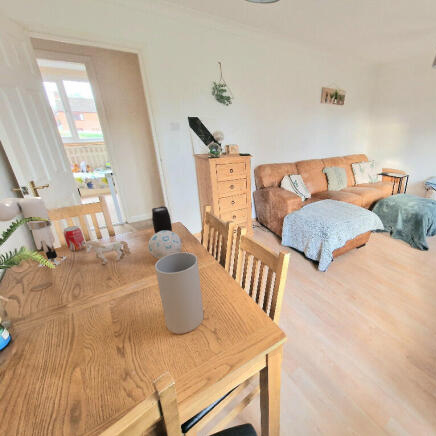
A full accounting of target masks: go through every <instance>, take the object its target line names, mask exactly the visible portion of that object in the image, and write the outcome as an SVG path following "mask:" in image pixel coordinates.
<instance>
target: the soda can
mask: <svg viewBox="0 0 436 436" xmlns="http://www.w3.org/2000/svg"><path fill="white" fill-rule="evenodd" d="M62 233H63V237H64V240H65V243H66V247H67V248H68V250H69V251H71V252H78V251H81V250H84V248H79V247H83V246H84V245H82V244H85V243H86V241H85V238H84V235H83V231H82V229H80V227H79V226H77V225H74V226H72V225H71V226H68V227H65V228H64V229H63V232H62Z"/></svg>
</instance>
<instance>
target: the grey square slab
mask: <svg viewBox="0 0 436 436" xmlns="http://www.w3.org/2000/svg"><path fill="white" fill-rule="evenodd" d="M62 257H63V259H62V260H61V261H62V262H63V261H64V260H65V259H67V258H68V256H67V255H65V256H62ZM48 260H49V261H50V262H54V263H55V264H56V265H55V266H58V265H60V264H61V263H62V262H60V261H57V260H56V259H55V258H54V259H52V258H51V259H48ZM59 262H60V263H59ZM40 267H42V268H43V267H46V266H45V265H43V266H42V264H41V263H40V264H39V265H38V266H37V268H40Z"/></svg>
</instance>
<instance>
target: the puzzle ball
mask: <svg viewBox="0 0 436 436" xmlns="http://www.w3.org/2000/svg"><path fill="white" fill-rule="evenodd" d="M182 243H183V242H182V239H181V237H180V236H179V235H178V234H177V233H176V232H175V231H173V230H172V231H160V232H158V233H155V232H154V234H153V235H152V236H151V237H150V238H149V241H148V244H147V249H148V253H149V254H150V255H151V256H152V257H153V258H154V259H157V260H160V259H161V258H163V257H165V256H167V255H170V254H173V253H180V252H181V250H182V245H183V244H182Z"/></svg>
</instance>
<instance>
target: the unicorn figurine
mask: <svg viewBox="0 0 436 436" xmlns="http://www.w3.org/2000/svg"><path fill="white" fill-rule="evenodd" d="M82 245H84V246H83V247H79V248H83V249H85V251H86V253H87V254H90V253H92V251H91V250H93V252H94V253H95V254H94V257H95V258H96V260H98V261H99V262H102V263H101V265H106V263H108V264H109V262H108V258H106V257H105V256H104V254H107V253H108V254H109V253H111V252H113V251H114V252H116V253H117V256H116V257H115V259H116V260H115V261H116V262H119V261H120V259H123V257H125V256H129V255H131V254H132V252H131V250H130V248H129V244H128V243H127V241H125V240H120V241H111V242H109V243H108V242H107V243H102V242H100V241H97V240H91V239H90V240H87V241H85V244H82Z"/></svg>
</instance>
